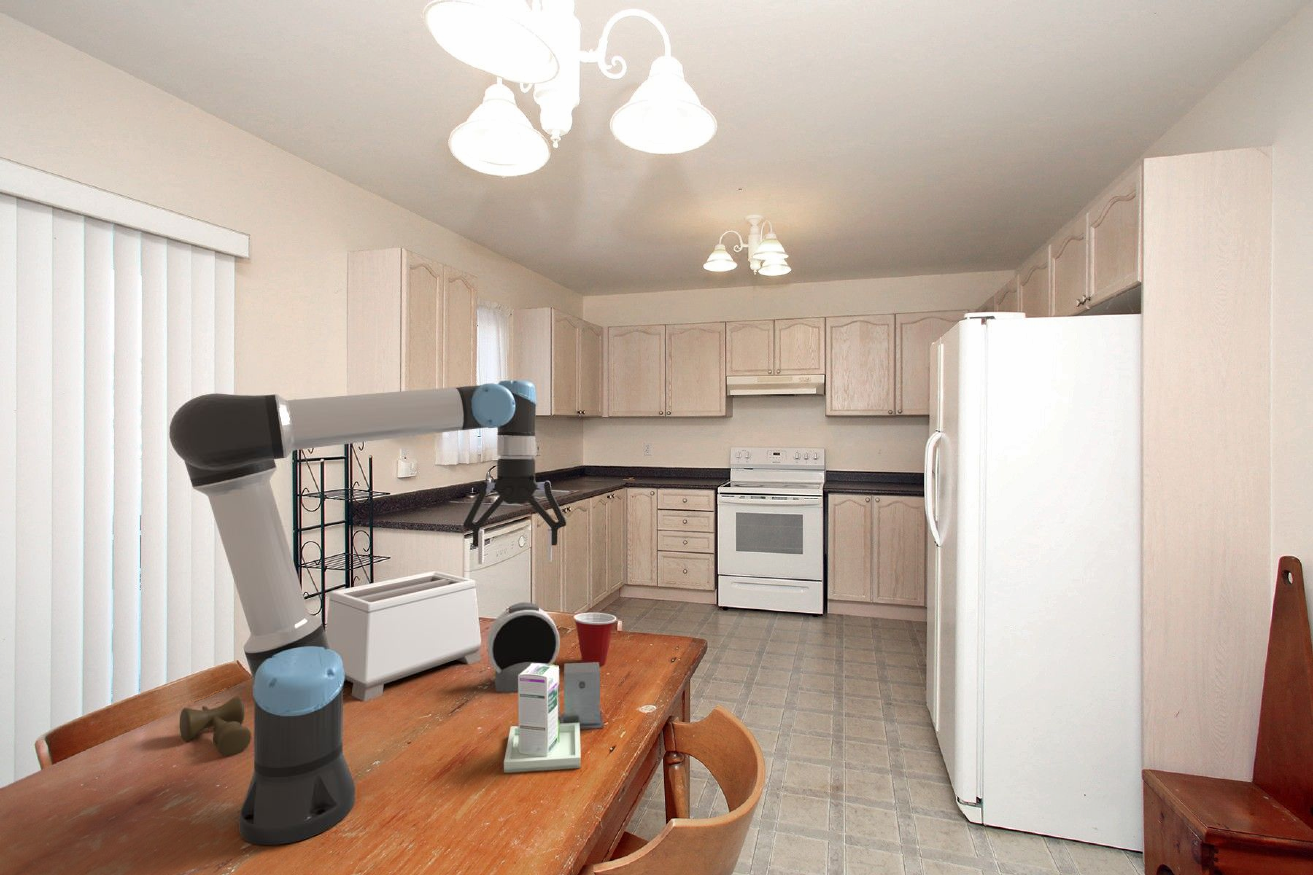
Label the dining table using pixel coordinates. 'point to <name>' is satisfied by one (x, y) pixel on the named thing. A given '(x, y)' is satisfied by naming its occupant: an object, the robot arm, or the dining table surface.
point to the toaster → (402, 628)
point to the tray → (559, 758)
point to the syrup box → (538, 709)
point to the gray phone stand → (582, 695)
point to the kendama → (218, 726)
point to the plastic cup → (594, 636)
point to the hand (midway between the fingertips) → (515, 562)
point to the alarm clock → (520, 643)
